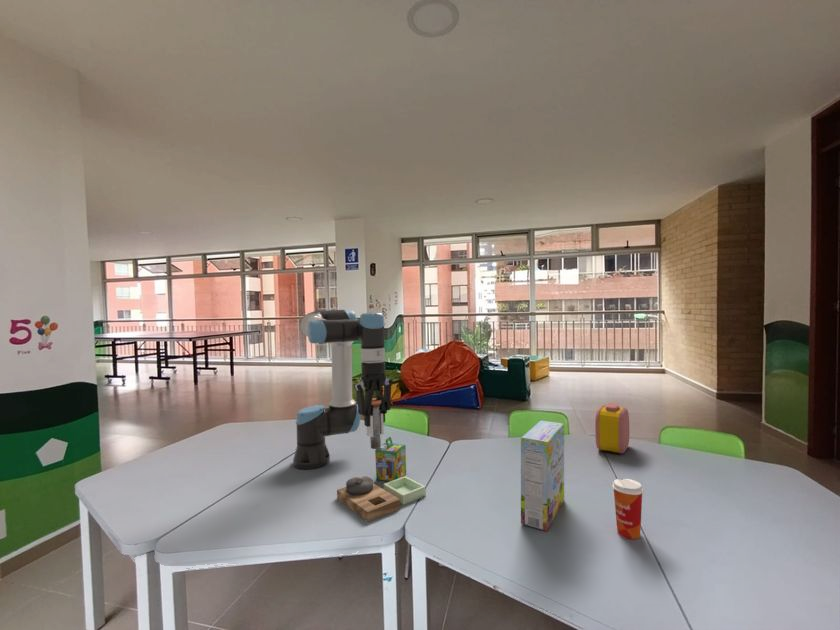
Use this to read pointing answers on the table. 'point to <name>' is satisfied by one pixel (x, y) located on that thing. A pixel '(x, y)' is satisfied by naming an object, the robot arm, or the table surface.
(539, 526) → the snack box
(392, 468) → the chalk box
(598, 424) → the pink and yellow case
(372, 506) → the block
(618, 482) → the paper cup
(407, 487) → the tray
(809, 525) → the table surface
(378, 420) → the lock pin
